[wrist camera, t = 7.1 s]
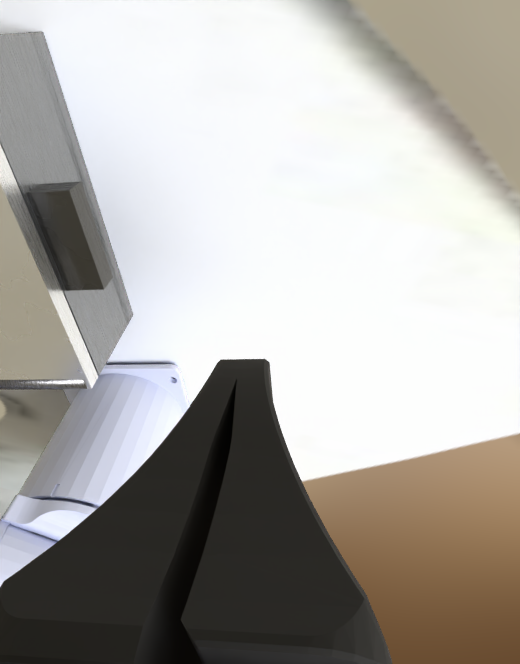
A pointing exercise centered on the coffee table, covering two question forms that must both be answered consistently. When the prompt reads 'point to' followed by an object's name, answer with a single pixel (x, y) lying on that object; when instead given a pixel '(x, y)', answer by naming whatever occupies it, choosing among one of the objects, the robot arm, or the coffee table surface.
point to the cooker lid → (34, 306)
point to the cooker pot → (60, 192)
